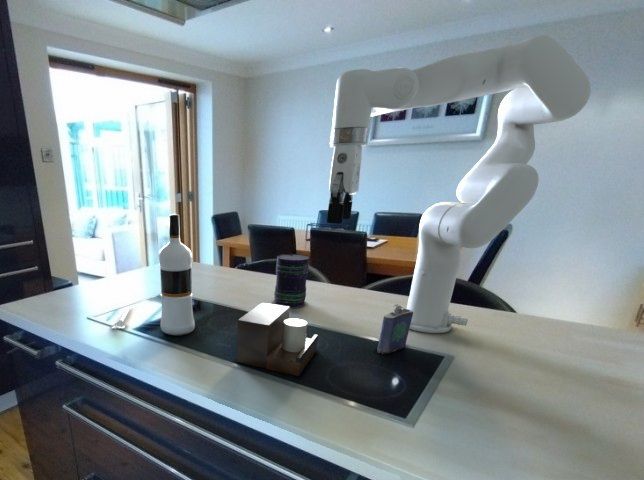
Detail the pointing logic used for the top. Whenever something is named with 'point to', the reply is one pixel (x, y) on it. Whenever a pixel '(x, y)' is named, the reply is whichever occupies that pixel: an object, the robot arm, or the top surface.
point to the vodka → (176, 283)
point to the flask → (394, 330)
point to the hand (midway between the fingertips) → (338, 220)
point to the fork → (121, 320)
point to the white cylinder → (294, 335)
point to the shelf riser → (270, 341)
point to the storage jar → (291, 280)
